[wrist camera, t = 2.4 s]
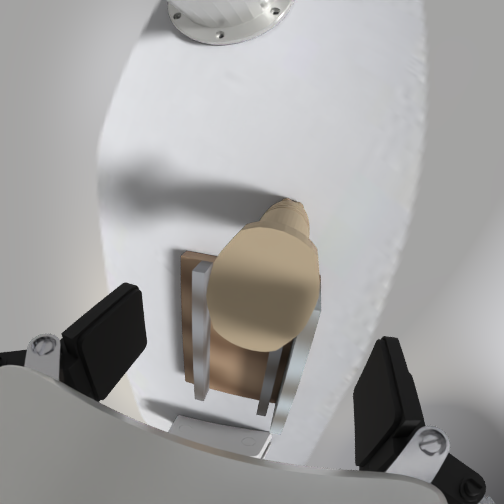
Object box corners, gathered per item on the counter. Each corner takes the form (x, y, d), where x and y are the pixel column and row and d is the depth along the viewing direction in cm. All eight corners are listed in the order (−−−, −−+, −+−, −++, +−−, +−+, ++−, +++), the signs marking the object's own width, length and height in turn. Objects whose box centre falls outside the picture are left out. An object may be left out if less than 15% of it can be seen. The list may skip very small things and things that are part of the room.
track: (186, 250, 30) (157, 277, 24) (320, 275, 28) (320, 311, 22) (189, 374, 37) (171, 407, 31) (287, 397, 35) (280, 434, 29)
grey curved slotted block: (182, 429, 44) (158, 459, 35) (180, 409, 44) (154, 439, 34) (271, 446, 41) (261, 483, 31) (273, 426, 41) (263, 464, 31)
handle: (254, 236, 28) (197, 330, 14) (274, 173, 25) (226, 212, 11) (302, 253, 27) (286, 362, 14) (325, 191, 25) (340, 252, 11)
